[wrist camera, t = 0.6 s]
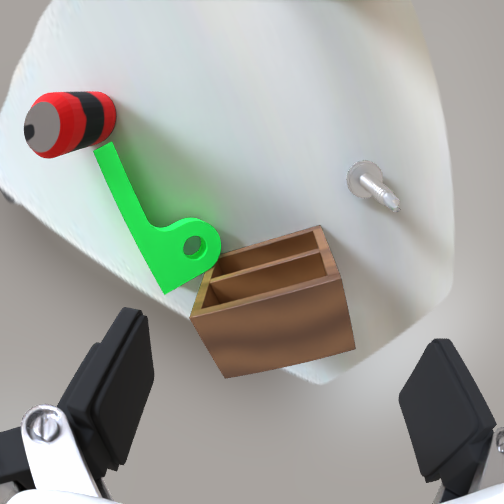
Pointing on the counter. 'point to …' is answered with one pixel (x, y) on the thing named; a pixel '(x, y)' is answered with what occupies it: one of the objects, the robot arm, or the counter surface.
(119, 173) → the bracket
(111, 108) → the soda can
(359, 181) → the screw
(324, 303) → the shelf
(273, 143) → the counter surface
